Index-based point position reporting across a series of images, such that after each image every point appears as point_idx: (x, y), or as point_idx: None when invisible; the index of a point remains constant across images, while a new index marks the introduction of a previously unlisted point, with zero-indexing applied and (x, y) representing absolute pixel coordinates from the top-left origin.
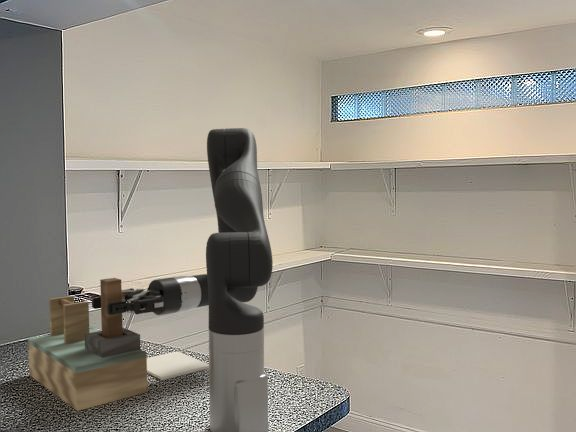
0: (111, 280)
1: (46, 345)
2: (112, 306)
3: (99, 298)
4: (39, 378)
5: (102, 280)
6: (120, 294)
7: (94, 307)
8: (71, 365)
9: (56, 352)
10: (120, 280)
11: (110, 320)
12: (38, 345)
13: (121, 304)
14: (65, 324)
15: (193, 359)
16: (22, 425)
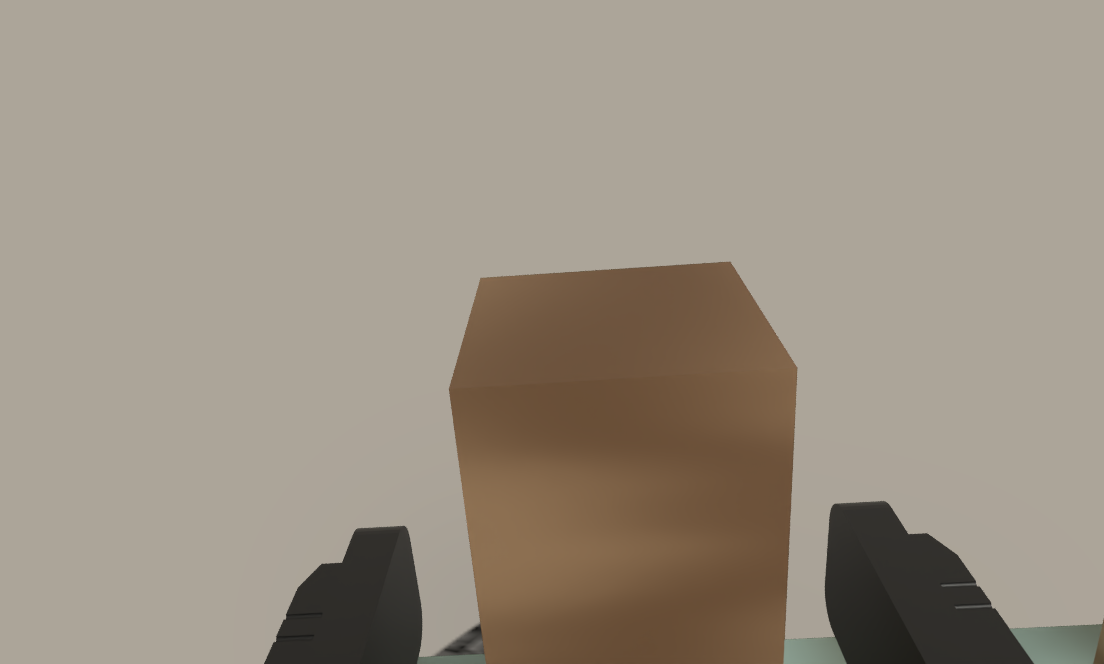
0: (511, 309)
1: (1049, 655)
2: (320, 570)
3: (860, 559)
4: None
5: (645, 271)
6: (484, 631)
7: (828, 603)
8: (462, 658)
9: (810, 660)
10: (455, 395)
11: None
12: (1089, 629)
13: (278, 659)
14: (1100, 634)
15: None
16: (475, 642)
